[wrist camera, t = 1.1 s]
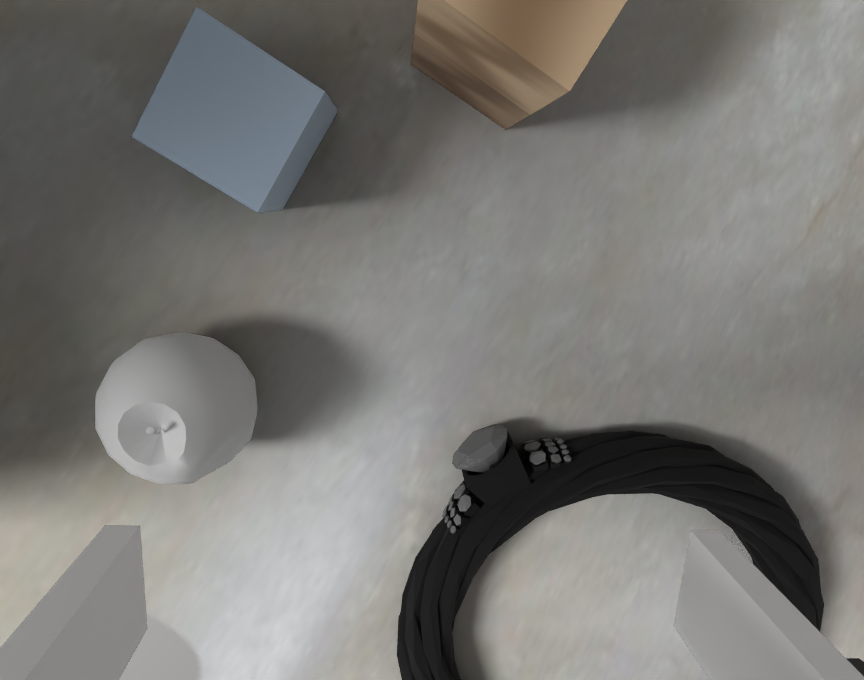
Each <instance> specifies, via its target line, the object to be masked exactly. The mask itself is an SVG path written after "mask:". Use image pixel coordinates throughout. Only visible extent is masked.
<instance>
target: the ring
mask: <svg viewBox="0 0 864 680" xmlns="http://www.w3.org/2000/svg"><path fill="white" fill-rule="evenodd" d="M539 440H540V442H537V439H536V440H528V441H526V442H525V443H523V444H522V445H523V446H524V448H523V449H524V451H525V453H526V456H525V457H523V458H521V459H520V457H519V455H518V453H517V450H516V448H515V446H514V444H513V442H512V440H511V437H510V435H509V433H508V431H507V428H506V427H505V426H503V425H502V424H501V425H494V426H489V427H486V428H483V429H480V430H477V431H475V432H473V433H472V434H471V435H470V436H469V437H468V438H467V439H466V440H465V441H464V442H463V443H462V445H461V446H460V447H459V448H458V450H457V451H456V452H455V454H454V455H453V462H452V464H453V465H454V466H455V467H456V468H457V469H462V472H463V477H464V481H463V482H462V483H461V484H460V485H459V486H458V487H457V489H456V490H455V491H456V492H455V493H454V494H453V495H452V496H451V498H450V501H449V504H448V505H447V506H446V507H445V510H444V511H443V517H444V518H443V519H442V520H441V521H440V523H439V524H437V526H436V527H435V528H434V529H433V531H432V533H431V535H430V536H429V538H428V539H427V541H426V542H425V544H424V546H423V547H422V549H421V550H420V552H419V553H418V555H417V556H416V558H415V561H414V563H413V566H412V569H411V571H410V574H409V577H408V580H407V583H406V586H405V589H404V592H403V595H402V606H401V612H400V615H399V621H398V645H397V657H398V662H399V667H400V672H401V677H402V680H461V679H460V676H459V673H458V670H457V667H456V664H455V659H454V648H453V636H452V632H453V626H454V620H455V617H456V614H457V612H458V610H459V608H460V605H461V603H462V601H463V599H464V596H465V594H466V592H467V590H468V587H469V585H470V583H471V581H472V578H473V577H474V575H475V574H476V572H477V571H478V569H479V568H480V567H481V565H482V564H483V562H484V561H485V559H486V558H487V556H488V555H489V554H490V553H491V552H493V551H494V550H495V549H496V548H498V547H499V546H500V545H502V544H503V543H504V542H505V541H507V540H508V539H509V538H511V537H512V536H513V535H514V534H516V533H517V532H518V531H520V530H521V529H522V528H523V527H525V526H526V525H527V524H529V523H530V522H531V521H532V520H534V519H535V518H537V517H539V516H541V515H542V514H544V513H546V512H548V511H551V510H554V509H557V508H560V507H563V506H566V505H569V504H573V503H576V502H579V501H582V500H585V499H588V498H591V497H595V496H601V495H606V494H639V493H655V494H661V495H664V496H667V497H671V498H674V499H677V500H680V501H683V502H687V503H690V504H693V505H696V506H699V507H703V508H706V509H707V510H708V511H710V512H711V513H712V514H714V515H715V516H716V517H718V518H719V519H720V520H721V521H723V522H724V523H725V524H727V525H728V526H729V527H731V528H732V529H733V531H734V532H735V534H736V535H737V536H738V538H739V539H740V541H741V542H742V544H743V545H744V547H745V548H746V549H747V551H748V552H749V554H750V555H751V557H752V560H753V565H754V566H755V567H756V568H757V569H758V570H759V571H760V572H761V573H762V574H763V575H764V576H765V577H766V578H767V579H768V580H769V581H770V582H771V583H772V584H773V585H774V586H775V587H776V588H777V589H778V590H779V591H780V592H781V593H782V594H783V595H784V596H785V597H786V598H787V599H788V600H789V601H790V602H791V603H792V604H793V605H794V606H795V607H796V608H797V609H798V610H799V611H800V612H801V613H802V614H803V615H804V616H805V617H806V618H807V619H808V620H809V621H810V622H811V623H812V625H813V626H814V627H815V628H816V629H817V630H818V631H819V632H820V629H821V622H822V615H823V608H824V603H823V599H822V595H821V588H820V576H819V564H818V558H817V557H816V555H815V553H814V551H813V549H812V547H811V545H810V543H809V542H808V540H807V538H806V536H805V534H804V532H803V530H802V529H801V527H800V524H799V520H798V518H797V517H796V515H795V514H794V512H793V511H792V509H791V508H790V506H789V505H788V503H787V502H786V500H785V499H784V497H783V496H782V495H780V494H779V493H777V492H775V491H774V489H773V488H772V487H771V486H770V485H768V484H767V483H766V482H765V481H764V480H763V479H762V478H761V477H760V476H758V475H757V474H756V473H755V472H754V471H753V470H752V469H750V468H748V467H746V466H744V465H742V464H740V463H738V462H736V461H734V460H732V459H729V458H727V457H725V456H724V455H722V454H721V453H719V452H718V451H716V450H715V449H713V448H712V447H710V446H707V445H702V444H697V443H692V442H687V441H682V440H677V439H672V438H670V437H667V436H665V435H662V434H653V433H644V432H635V431H626V432H612V433H598V434H592V435H589V436H584V437H579V438H574V439H569V440H562V439H561V438H553V439H549V438H541V439H539ZM552 440H553V441H552ZM551 441H552V442H551Z"/></svg>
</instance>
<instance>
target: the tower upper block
mask: <svg viewBox="0 0 864 680" xmlns="http://www.w3.org/2000/svg"><path fill="white" fill-rule="evenodd" d="M626 2H627V0H418V5H417V13H416V22H415V31H414V34H416V35H417V36H419V37H420V38H422V39H423V40H424V41H426V42H427V43H429V44H430V45H432V46H433V47H434V48H436V49H437V50H439V51H440V52H442V53H443V54H444V55H446V56H447V57H449V58H450V59H452V60H453V61H454V62H456V63H457V64H459V65H460V66H462V67H463V68H464V69H466V70H467V71H469V72H470V73H472V74H473V75H474V76H476V77H477V78H479V79H480V80H481V81H483V82H484V83H486V84H487V85H489V86H490V87H491V88H493V89H494V90H496V91H497V92H499V93H500V94H501V95H503V96H504V97H506V98H507V99H509V100H510V101H511V102H513V103H514V104H516V105H517V106H519V107H520V108H521V109H523V110H524V111H526V112H527V113H529V114H530V115H531V114H533V113H534V112H536V111H538V110H539V109H541V108H543V107H544V106H546V105H548V104H549V103H551V102H553V101H554V100H556V99H558V98H559V97H561V96H563V95H564V94H566V93H568V92H569V91H570V90H571V89H572V87H573V86H574V84H575V82H576V81H577V79H578V78H579V76H580V74H581V73H582V71H583V70H584V68H585V67H586V65H587V63H588V62H589V60H590V59H591V57H592V55H593V54H594V52H595V51H596V49H597V48H598V46H599V44H600V43H601V41H602V40H603V38H604V37H605V35H606V33H607V32H608V30H609V29H610V27H611V25H612V24H613V22H614V21H615V19H616V18H617V16H618V14H619V13H620V11H621V10H622V8H623V7H624V5H625V3H626Z"/></svg>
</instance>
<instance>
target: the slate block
mask: <svg viewBox="0 0 864 680" xmlns="http://www.w3.org/2000/svg"><path fill="white" fill-rule="evenodd" d="M337 112H338V110H337V108H336V107H335V105H334V104H333V103H332V101H331V100H330V98H329V97H328V95H327V94H326V92H325V91H324V90H322V89H321V88H319V87H318V86H316V85H315V84H313V83H312V82H310V81H309V80H307V79H306V78H304V77H303V76H301V75H300V74H298V73H296V72H295V71H293V70H292V69H290V68H289V67H287V66H286V65H284V64H283V63H281V62H280V61H278V60H277V59H275V58H274V57H272V56H271V55H269V54H268V53H266V52H265V51H263V50H262V49H260V48H259V47H257V46H256V45H254V44H253V43H251V42H250V41H248V40H247V39H245V38H244V37H242V36H240V35H239V34H237V33H236V32H234V31H233V30H231V29H230V28H228V27H227V26H225V25H224V24H222V23H221V22H219V21H218V20H216V19H215V18H213V17H212V16H210V15H209V14H207V13H206V12H204V11H203V10H201V9H200V8H198V7H197V6H196V8H195V10H194V12H193V14H192V16H191V18H190V20H189V22H188V24H187V26H186V28H185V30H184V32H183V34H182V36H181V38H180V40H179V42H178V44H177V46H176V48H175V50H174V52H173V54H172V56H171V58H170V60H169V62H168V64H167V66H166V68H165V70H164V72H163V74H162V76H161V78H160V80H159V82H158V84H157V86H156V88H155V90H154V92H153V94H152V96H151V98H150V100H149V102H148V104H147V106H146V108H145V110H144V112H143V114H142V116H141V118H140V120H139V122H138V124H137V126H136V128H135V130H134V132H133V134H132V136H131V137H133V138H134V139H136V140H138V141H139V142H141V143H143V144H144V145H146V146H148V147H149V148H151V149H153V150H154V151H156V152H158V153H159V154H161V155H162V156H164V157H166V158H167V159H169V160H171V161H172V162H174V163H176V164H177V165H179V166H181V167H182V168H184V169H186V170H187V171H189V172H191V173H192V174H194V175H196V176H197V177H199V178H200V179H202V180H204V181H205V182H207V183H209V184H210V185H212V186H214V187H215V188H217V189H219V190H220V191H222V192H224V193H225V194H227V195H229V196H230V197H232V198H234V199H235V200H237V201H238V202H240V203H242V204H243V205H245V206H247V207H248V208H250V209H252V210H253V211H255V212H257V213H262V212H270V211H279V210H283V208H284V206H285V205H286V203H287V201H288V199H289V198H290V196H291V194H292V192H293V190H294V189H295V187H296V185H297V183H298V182H299V180H300V178H301V176H302V174H303V173H304V171H305V169H306V167H307V166H308V164H309V162H310V160H311V158H312V157H313V155H314V153H315V151H316V150H317V148H318V146H319V144H320V142H321V141H322V139H323V137H324V135H325V134H326V132H327V130H328V128H329V126H330V125H331V123H332V121H333V119H334V118H335V116H336V114H337Z"/></svg>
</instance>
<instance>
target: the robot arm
mask: <svg viewBox="0 0 864 680" xmlns="http://www.w3.org/2000/svg"><path fill="white" fill-rule="evenodd" d="M674 627H675V629H676V630H677V632H678V633H679V635H680V636H681V638H682V639H683V641H684V642H685V644H686V645H687V647H688V648H689V650H690V651H691V653H692V654H693V656H694V657H695V659H696V660H697V662H698V663H699V665H700V666H701V668H702V669H703V671H704V672H705V674H706V675H707V677H708V679H709V680H864V662H863V661H862V660H860V659H859V658H850V659H846V658H845V657H844V656H843V655H842V654H841V653H840V652H839V651H838V650H837V649H836V648H835V647H834V646H833V645H832V644H831V643H830V642H829V641H828V640H827V639H826V638H825V637H824V636H823V635H822V634H821V633H820V632H819V631H818V630H817V629H816V628H815V627H814V626H813V625H812V623H811V622H810V621H809V620H808V619H807V618H806V617H805V616H804V615H803V614H802V613H801V612H800V611H799V610H798V609H797V608H796V607H795V606H794V605H793V604H792V603H791V602H790V601H789V600H788V599H787V598H786V597H785V596H784V595H783V594H782V593H781V592H780V591H779V590H778V589H777V588H776V587H775V586H774V585H773V584H772V583H771V582H770V581H769V580H768V579H767V578H766V577H765V576H764V575H763V574H762V573H761V572H760V571H759V570H758V569H757V568H756V567H755V566H754V565H753V564H752V563H751V562H750V560H749V559H748V558H747V557H746V556H745V555H744V554H743V553H742V552H741V551H740V550H739V549H738V548H737V547H736V546H735V545H734V544H733V543H732V542H731V541H730V540H729V539H728V538H727V537H726V536H725V535H724V534H723V533H722V532H721V531H693V530H691V531H690V537H689V542H688V548H687V554H686V559H685V565H684V571H683V576H682V582H681V587H680V593H679V599H678V604H677V610H676V616H675V621H674ZM146 630H147V616H146V602H145V588H144V574H143V560H142V546H141V532H140V526H131V525H105V526H104V527H103V528H102V530H101V531H100V532H99V533H98V534H97V535H96V537H95V538H94V539H93V540H92V541H91V542H90V544H89V545H88V546H87V547H86V548H85V549H84V551H83V552H82V553H81V554H80V555H79V556H78V558H77V559H76V560H75V561H74V562H73V563H72V565H71V566H70V567H69V568H68V569H67V570H66V572H65V573H64V574H63V575H62V576H61V577H60V579H59V580H58V581H57V582H56V583H55V585H54V586H53V587H52V588H51V589H50V590H49V592H48V593H47V594H46V595H45V596H44V597H43V599H42V600H41V601H40V602H39V603H38V604H37V606H36V607H35V608H34V609H33V610H32V611H31V613H30V614H29V615H28V616H27V617H26V618H25V620H24V621H23V622H22V623H21V624H20V625H19V627H18V628H17V629H16V630H15V631H14V632H13V634H12V635H11V636H10V637H9V638H8V639H7V641H6V642H5V643H4V644H3V645H2V646H1V648H0V680H119V679H120V677H121V675H122V673H123V671H124V670H125V668H126V666H127V664H128V662H129V661H130V659H131V657H132V655H133V653H134V652H135V650H136V648H137V646H138V644H139V643H140V641H141V639H142V637H143V635H144V633H145V632H146Z"/></svg>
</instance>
